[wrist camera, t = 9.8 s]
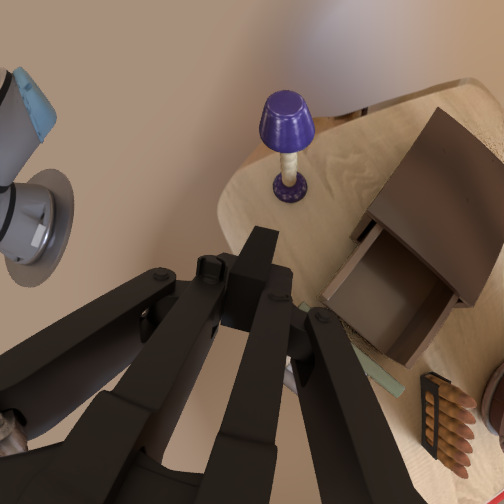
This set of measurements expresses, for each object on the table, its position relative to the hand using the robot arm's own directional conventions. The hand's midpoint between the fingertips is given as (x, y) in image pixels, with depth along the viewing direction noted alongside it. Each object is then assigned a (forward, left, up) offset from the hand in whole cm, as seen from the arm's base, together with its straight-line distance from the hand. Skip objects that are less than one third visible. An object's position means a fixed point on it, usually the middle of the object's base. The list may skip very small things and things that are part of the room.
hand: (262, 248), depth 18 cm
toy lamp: (-6, +9, -16) cm, 19 cm away
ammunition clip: (+26, -1, -16) cm, 31 cm away
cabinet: (+10, +17, -16) cm, 25 cm away
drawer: (+10, +3, -15) cm, 18 cm away
